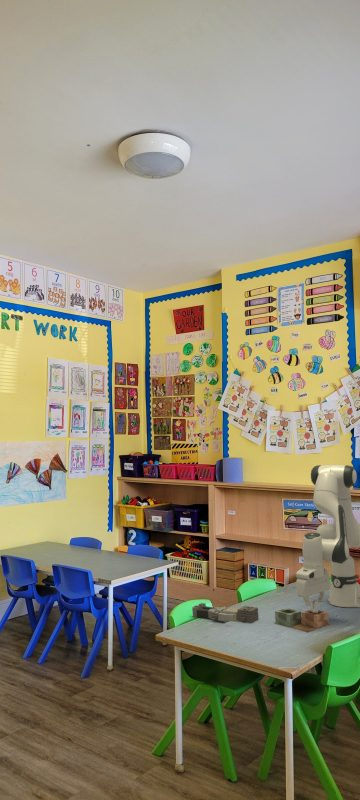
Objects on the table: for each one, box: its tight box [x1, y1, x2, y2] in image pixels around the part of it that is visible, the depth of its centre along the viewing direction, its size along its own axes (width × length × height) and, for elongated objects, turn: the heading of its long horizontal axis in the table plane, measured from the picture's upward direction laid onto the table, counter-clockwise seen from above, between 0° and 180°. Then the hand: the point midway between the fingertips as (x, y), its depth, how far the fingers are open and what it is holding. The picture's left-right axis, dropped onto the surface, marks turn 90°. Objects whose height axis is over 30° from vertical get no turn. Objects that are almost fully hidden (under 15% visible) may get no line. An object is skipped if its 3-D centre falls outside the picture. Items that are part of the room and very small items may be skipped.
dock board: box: [274, 607, 331, 633], centre depth 248 cm, size 16×18×6 cm
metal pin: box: [310, 598, 319, 614], centre depth 247 cm, size 3×3×10 cm
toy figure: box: [191, 602, 259, 624], centre depth 260 cm, size 11×7×30 cm
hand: (314, 603), depth 247 cm, fingers open, 8 cm apart
